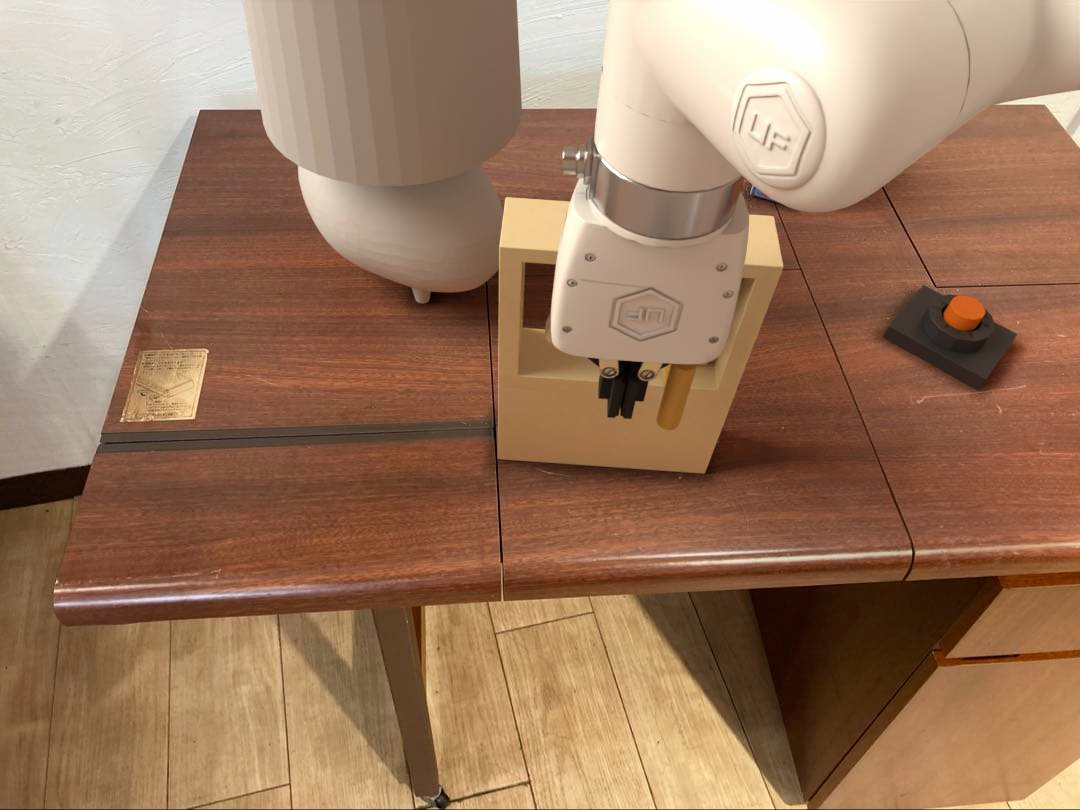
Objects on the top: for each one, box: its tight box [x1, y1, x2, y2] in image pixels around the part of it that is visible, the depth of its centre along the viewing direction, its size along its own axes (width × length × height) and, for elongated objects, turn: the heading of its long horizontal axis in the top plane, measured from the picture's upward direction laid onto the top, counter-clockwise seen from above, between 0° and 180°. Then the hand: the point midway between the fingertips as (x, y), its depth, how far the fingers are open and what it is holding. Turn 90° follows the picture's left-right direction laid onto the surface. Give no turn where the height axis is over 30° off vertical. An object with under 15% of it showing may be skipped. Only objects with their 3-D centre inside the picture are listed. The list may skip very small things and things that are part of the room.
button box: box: [882, 284, 1018, 391], centre depth 80 cm, size 10×8×4 cm
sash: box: [657, 363, 707, 430], centre depth 55 cm, size 9×7×11 cm
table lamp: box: [242, 0, 523, 304], centre depth 68 cm, size 23×22×40 cm
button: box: [943, 295, 986, 332], centre depth 78 cm, size 3×3×2 cm
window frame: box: [497, 196, 785, 475], centre depth 62 cm, size 5×18×24 cm, turn 87°
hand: (618, 401), depth 55 cm, fingers closed
